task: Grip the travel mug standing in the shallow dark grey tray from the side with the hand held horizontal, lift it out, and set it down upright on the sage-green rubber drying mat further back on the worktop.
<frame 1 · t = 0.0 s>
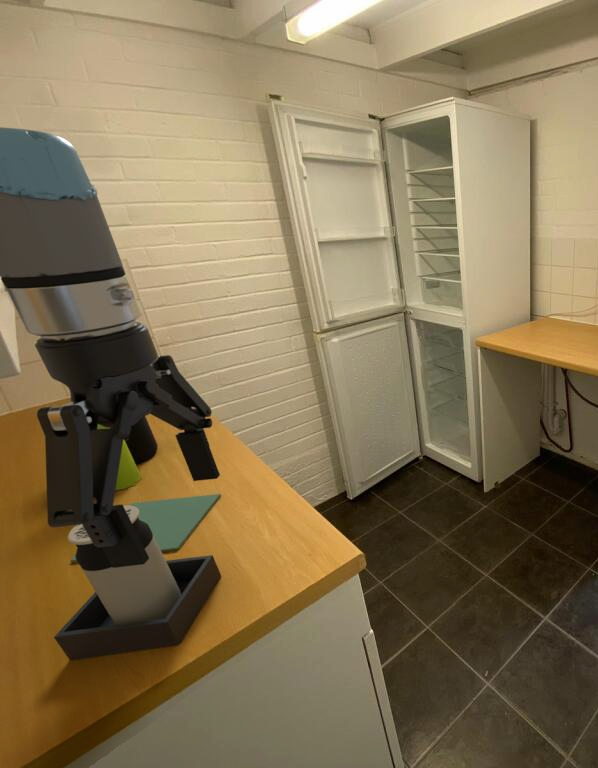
hand: (174, 515, 46), 27 cm above the kitchen counter, tool pointing down, fingers open, 13 cm apart
drying mat: (153, 526, 84), on the kitchen counter
soap dispenser: (126, 483, 98), on the kitchen counter
travel mug: (152, 613, 65), resting on dark grey tray
dark grey tray: (153, 614, 66), on the kitchen counter
coffee jar: (134, 458, 108), on the kitchen counter
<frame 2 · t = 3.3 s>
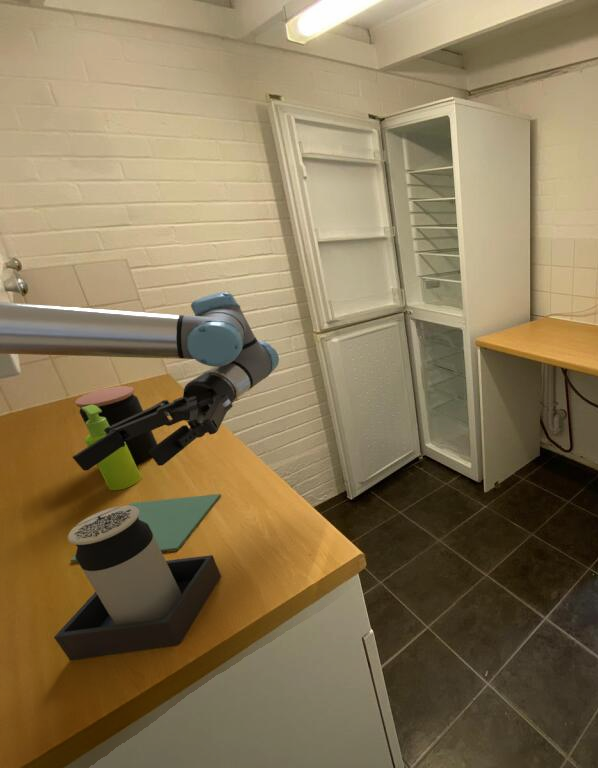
hand: (116, 461, 62), 24 cm above the kitchen counter, tool horizontal, fingers open, 13 cm apart
nothing on the kitchen counter moved.
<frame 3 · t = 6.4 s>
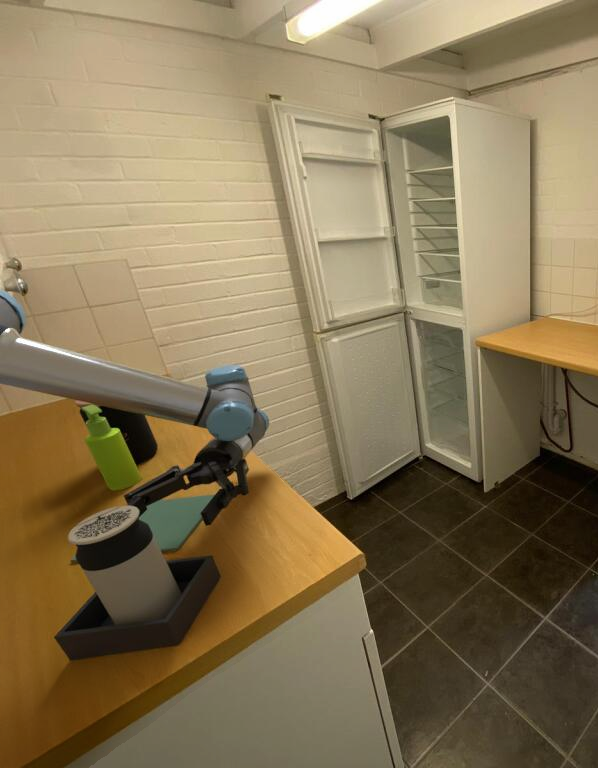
hand: (160, 524, 69), 11 cm above the kitchen counter, tool horizontal, fingers open, 13 cm apart
nothing on the kitchen counter moved.
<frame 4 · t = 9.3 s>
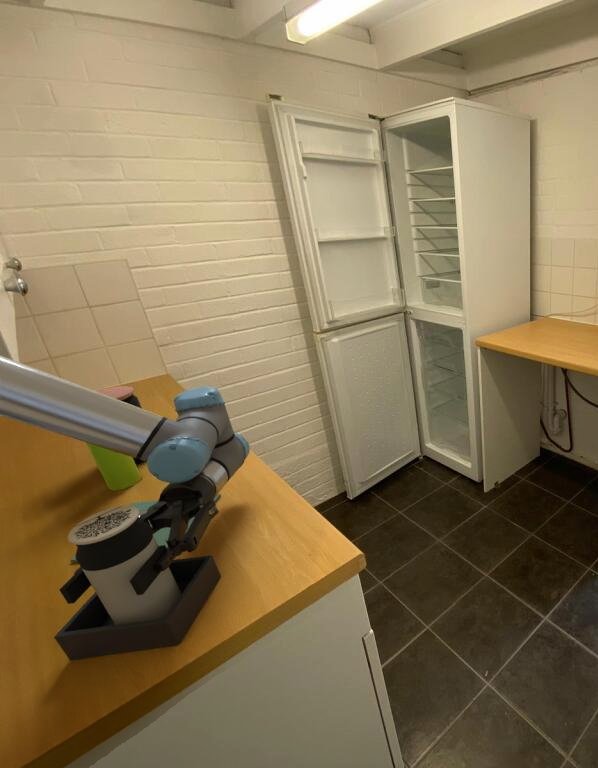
hand: (102, 592, 57), 10 cm above the kitchen counter, tool horizontal, fingers closed on travel mug, 8 cm apart
travel mug: (152, 613, 65), resting on dark grey tray, touching gripper
everything else where it was.
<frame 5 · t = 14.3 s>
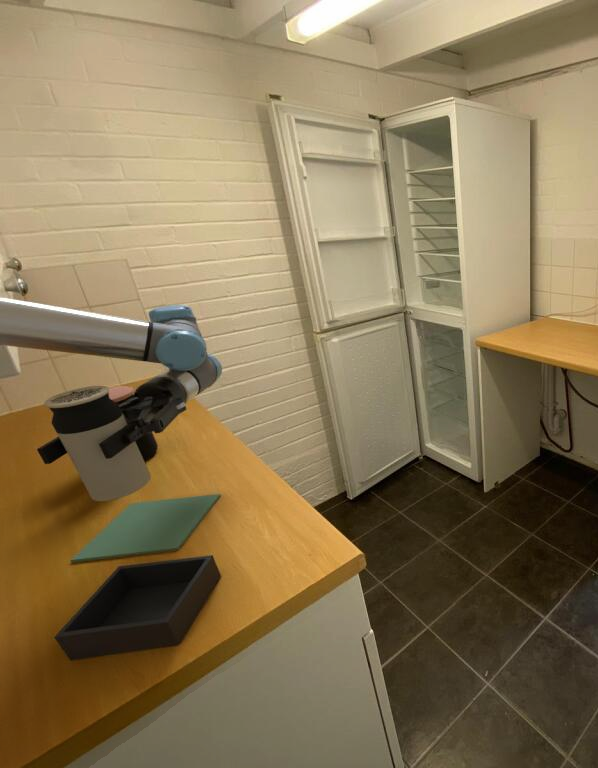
hand: (74, 453, 65), 24 cm above the kitchen counter, tool horizontal, fingers closed on travel mug, 8 cm apart
travel mug: (123, 488, 73), point 14 cm above the kitchen counter, touching gripper
everything else where it was.
when the fingers open (11 cm above the kitchen counter, at t = 19.2 s): travel mug stays where it is, resting on drying mat.
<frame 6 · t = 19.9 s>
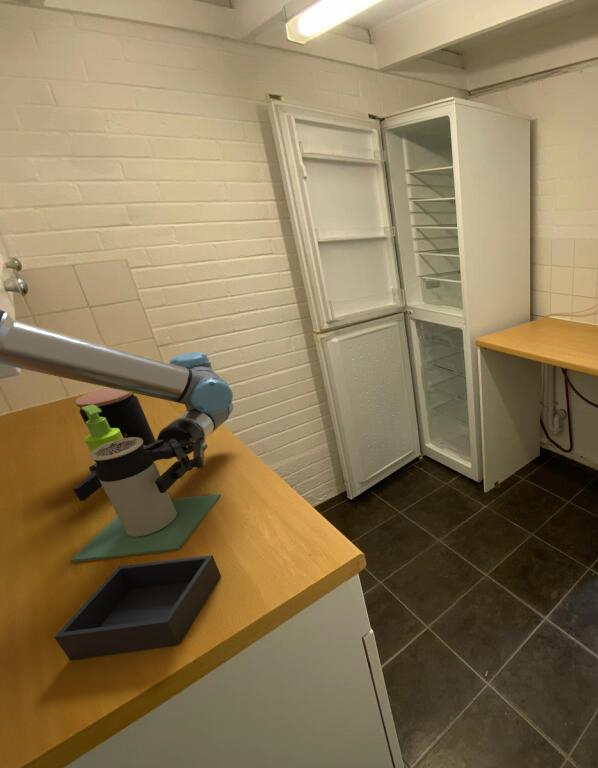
hand: (119, 491, 77), 11 cm above the kitchen counter, tool horizontal, fingers open, 13 cm apart
travel mug: (153, 524, 84), resting on drying mat
everything else where it was.
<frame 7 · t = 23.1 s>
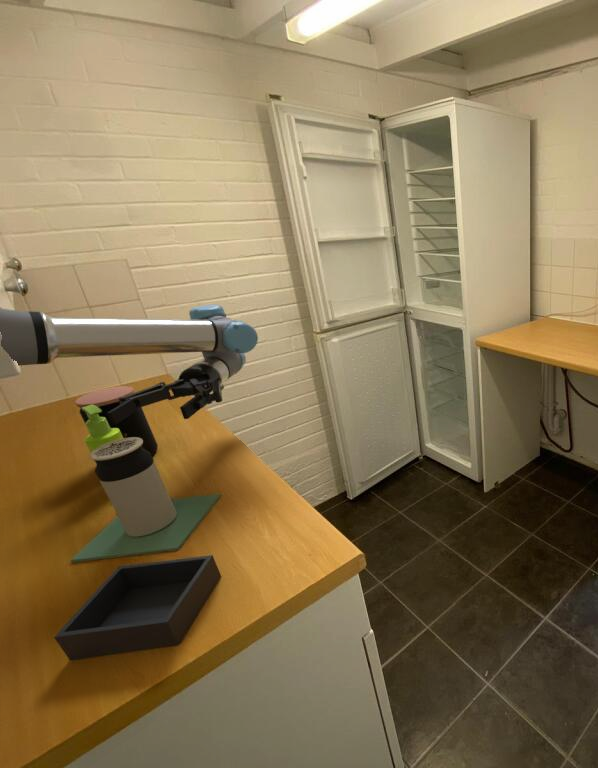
hand: (147, 416, 85), 20 cm above the kitchen counter, tool horizontal, fingers open, 13 cm apart
nothing on the kitchen counter moved.
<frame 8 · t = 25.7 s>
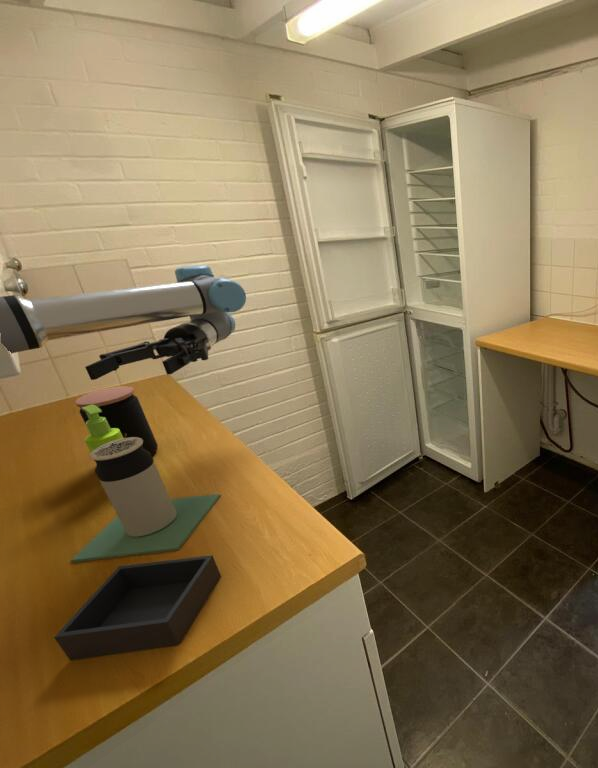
hand: (128, 370, 81), 30 cm above the kitchen counter, tool horizontal, fingers open, 13 cm apart
nothing on the kitchen counter moved.
at the end: travel mug inside the target area on the drying mat (0.0 cm from its centre), point 0.4 cm above the drying mat's base; travel mug tilted 0°; the gripper is holding nothing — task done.
